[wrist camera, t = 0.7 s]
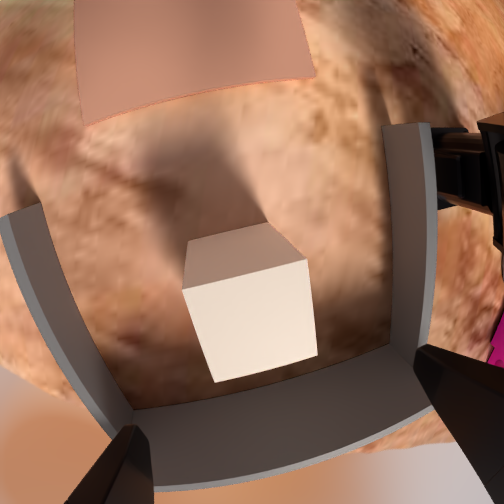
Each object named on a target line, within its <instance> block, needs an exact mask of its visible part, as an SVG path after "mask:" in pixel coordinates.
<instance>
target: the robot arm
mask: <svg viewBox="0 0 504 504" xmlns="http://www.w3.org/2000/svg"><path fill="white" fill-rule="evenodd" d="M477 125H478V129H479V130H480V133H469V132H468V130H467V129H466V128H431V135H432V142H433V151H434V161H435V172H436V187H437V210H441V209H445V208H449V207H453V206H457V205H459V206H462V207H466V208H469V209H472V210H476V211H479V212H482V213H485V214H489V215H492V216H493V226H494V236H493V245H494V246H495V247H496V248H497V249H498V250H500V251H501V252H502V253H503V254H504V112H502V113H499V114H496V115H493V116H490V117H488V118H485V119H482V120H479V121H477ZM413 371H414V373H415V375H416V377H417V379H418V380H419V382H420V384H421V386H422V388H423V390H424V391H425V393H426V395H427V397H428V399H429V401H430V403H431V404H432V406H433V407H434V409H435V410H436V412H437V413H438V415H439V416H440V418H441V419H442V421H443V422H444V424H445V425H446V427H447V428H448V430H449V431H450V433H451V434H452V436H453V437H454V439H455V440H456V442H457V443H458V445H459V446H460V448H461V449H462V451H463V452H464V454H465V455H466V457H467V459H468V460H469V462H470V463H471V465H472V467H473V468H474V470H475V472H476V473H477V475H478V476H479V478H480V480H481V481H482V483H483V485H484V487H485V488H486V490H487V492H488V494H489V495H490V497H491V499H492V500H493V502H494V504H504V368H502V367H499V366H495V365H492V364H489V363H486V362H482V361H479V360H476V359H473V358H470V357H467V356H463V355H460V354H457V353H454V352H451V351H448V350H445V349H442V348H439V347H436V346H433V345H430V344H425V345H423V346H421V347H418V348H417V349H416V352H415V357H414V363H413ZM64 504H154V481H153V472H152V464H151V454H150V444H149V440H148V438H147V437H146V436H145V434H144V433H143V432H142V430H141V429H140V427H139V426H138V425H136V424H127V425H124V426H123V427H122V428H121V429H120V431H119V432H118V433H117V435H116V436H115V437H114V439H113V440H112V441H111V443H110V444H109V445H108V446H107V448H106V449H105V450H104V452H103V453H102V454H101V456H100V457H99V458H98V459H97V461H96V462H95V463H94V465H93V466H92V467H91V469H90V470H89V471H88V473H87V474H86V475H85V477H84V478H83V479H82V481H81V482H80V483H79V484H78V486H77V487H76V488H75V489H74V491H73V492H72V493H71V495H70V496H69V497H68V500H66V501H65V502H64Z"/></svg>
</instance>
